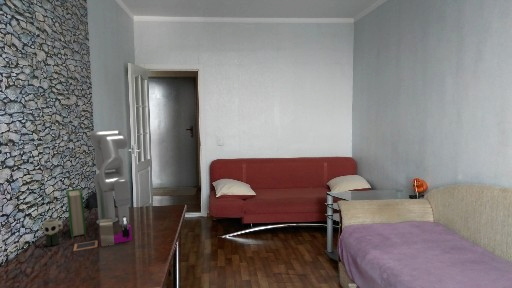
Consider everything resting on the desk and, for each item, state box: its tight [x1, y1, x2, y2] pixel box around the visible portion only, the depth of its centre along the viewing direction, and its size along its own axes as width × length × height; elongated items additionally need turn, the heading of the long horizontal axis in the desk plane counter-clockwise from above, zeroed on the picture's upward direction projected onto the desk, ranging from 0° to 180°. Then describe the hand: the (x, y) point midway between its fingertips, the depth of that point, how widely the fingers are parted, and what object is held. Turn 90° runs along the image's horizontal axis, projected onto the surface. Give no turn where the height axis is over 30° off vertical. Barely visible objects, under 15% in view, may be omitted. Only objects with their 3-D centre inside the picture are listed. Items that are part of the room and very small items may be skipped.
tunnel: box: [99, 218, 115, 247], centre depth 189 cm, size 12×6×11 cm, turn 23°
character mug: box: [38, 218, 64, 247], centre depth 190 cm, size 11×7×13 cm, turn 111°
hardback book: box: [66, 188, 87, 239], centre depth 208 cm, size 18×7×24 cm, turn 30°
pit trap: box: [72, 239, 99, 252], centre depth 185 cm, size 10×11×1 cm
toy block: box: [99, 224, 133, 247], centre depth 190 cm, size 15×6×8 cm, turn 114°
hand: (125, 234), depth 192 cm, fingers closed on toy block, 6 cm apart
